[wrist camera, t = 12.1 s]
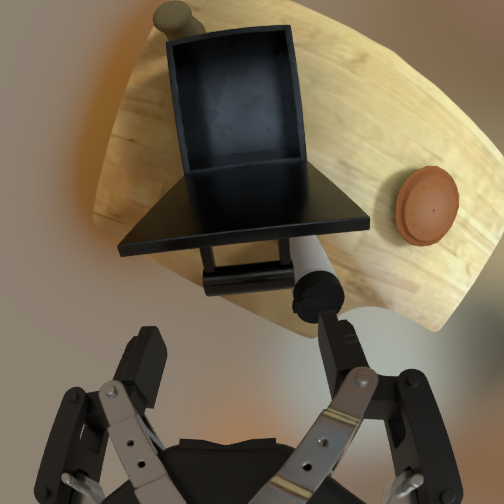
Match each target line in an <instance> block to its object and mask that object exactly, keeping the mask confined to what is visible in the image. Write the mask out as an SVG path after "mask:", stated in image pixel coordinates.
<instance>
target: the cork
mask: <svg viewBox="0 0 504 504" xmlns="http://www.w3.org/2000/svg"><path fill="white" fill-rule="evenodd" d="M153 23H154V26H155V27H156V28H157V29H158V30H159V31H161V32H164V33H165V34H166V36H167V38H168V40H169V41H172V40H176V39H181V38H185V37H190V36H194V35H199V34H205V29H204V26H203V25H202V24H201V23H200V22H199V21H198V20H197V19H195V18H194V17H193V16H192V12H191V9H190V7H189V6H188V5H187V4H186V3H184V2H182V1H176V0H174V1H169V2H166V3H164V4H162V5H161V6H159V7H158V8H157V10H156V11H155V13H154V15H153Z"/></svg>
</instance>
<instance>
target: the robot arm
mask: <svg viewBox="0 0 504 504" xmlns="http://www.w3.org/2000/svg"><path fill="white" fill-rule="evenodd" d="M318 342H319V348H320V352H321V356H322V360H323V364H324V368H325V372H326V376H327V381H328V385H329V389H330V394H331V398H332V401H331V403H330V405H329V406H328V408H327V409H324V410H323V411H322V412H321V413H320V415H319V416H318V418H317V419H316V421H315V422H314V424H313V425H312V427H311V428H310V430H309V431H308V432H307V434H306V435H305V437H304V438H303V440H302V441H301V443H300V444H299V445H298V446H297V448H296V449H295V448H293V447H290V446H288V445H284V444H278V443H276V438H266V439H251V440H247V441H243V442H239V443H235V444H231V445H221V444H217V443H213V442H209V441H205V440H195V439H194V440H193V439H180V442H179V445H175V446H172V447H169V448H167V449H166V447H165V446H164V445H163V444H162V442H161V441H160V440H159V437H158V436H157V434H156V432H155V431H154V429H153V427H152V425H151V424H150V422H149V420H148V418H147V416H146V415H145V409H146V408H153V409H154V405H155V401H156V397H157V393H158V389H159V386H160V382H161V378H162V374H163V370H164V367H165V363H166V359H167V348H166V345H165V343H164V341H163V339H162V336H161V334H160V332H159V330H158V328H157V327H156V326H143V327H141V329H140V331H139V334H138V336H134V337H133V338H132V339H131V340H130V341H129V343H128V344H127V346H126V348H125V352H124V353H123V356H122V359H121V360H120V363H119V365H118V368H117V370H116V373H115V375H114V378H113V380H112V381H108V382H106V383H105V384H103V385H102V387H101V388H100V390H99V391H96V392H90V393H86V392H85V391H84V390H83V389H82V388H80V387H73V388H71V389H69V390H68V391H67V392H66V393H65V395H64V397H63V400H62V402H61V405H60V407H59V410H58V413H57V415H56V418H55V421H54V424H53V426H52V429H51V432H50V435H49V438H48V441H47V444H46V447H45V451H44V454H43V457H42V461H41V464H40V468H39V471H38V475H37V479H36V483H35V487H34V495H35V498H36V500H37V501H38V502H39V503H40V504H366V503H365V502H363V501H362V500H361V499H359V498H358V497H356V496H355V495H354V494H353V493H351V492H350V491H349V490H347V489H346V488H345V487H343V486H342V485H341V484H340V483H338V482H337V481H336V480H335V479H333V478H332V477H331V476H332V474H333V473H334V471H335V470H336V468H337V466H338V465H339V463H340V461H341V460H342V458H343V457H344V455H345V453H346V451H347V449H348V447H349V446H350V444H351V442H352V440H353V439H354V437H355V435H356V433H357V431H358V429H359V428H360V426H361V424H362V422H363V420H364V419H378V420H384V423H385V427H386V432H387V436H388V440H389V445H390V450H391V454H392V459H393V464H394V469H395V475H396V478H394V479H393V480H392V481H391V482H390V483H389V484H388V485H387V486H386V488H385V490H384V498H383V502H382V504H460V503H461V501H462V499H463V488H462V483H461V479H460V475H459V471H458V468H457V464H456V460H455V457H454V453H453V450H452V447H451V444H450V441H449V438H448V434H447V431H446V428H445V426H444V423H443V419H442V417H441V414H440V411H439V408H438V406H437V403H436V400H435V398H434V395H433V393H432V390H431V388H430V385H429V383H428V380H427V378H426V376H425V375H424V374H423V373H422V372H421V371H419V370H416V369H407V370H404V371H403V372H401V373H400V375H399V376H383V375H379V374H377V373H376V372H375V371H374V370H373V369H371V368H370V367H369V365H368V362H367V360H366V357H365V355H364V352H363V350H362V347H361V344H360V342H359V339H358V337H357V335H356V332H355V329H354V327H353V325H352V324H351V323H349V322H348V321H347V320H339V321H338V318H337V315H336V312H335V311H327V312H320V313H319V324H318ZM83 424H84V425H85V426H84V429H83V432H82V436H81V439H80V435H81V431H82V428H83ZM109 435H110V438H111V440H112V442H113V445H114V447H115V449H116V452H117V454H118V456H119V458H120V461H121V463H122V465H123V467H124V469H125V471H126V473H127V475H128V477H129V479H128V480H127V481H126V482H125V483H124V484H123V485H121V486H120V487H119V488H118V489H116V490H115V491H114V492H113V493H111V494H110V495H109V496H107V498H105V495H104V494H103V490H102V488H101V486H100V485H99V481H100V476H101V470H102V465H103V460H104V456H105V451H106V446H107V441H108V438H109Z"/></svg>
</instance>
